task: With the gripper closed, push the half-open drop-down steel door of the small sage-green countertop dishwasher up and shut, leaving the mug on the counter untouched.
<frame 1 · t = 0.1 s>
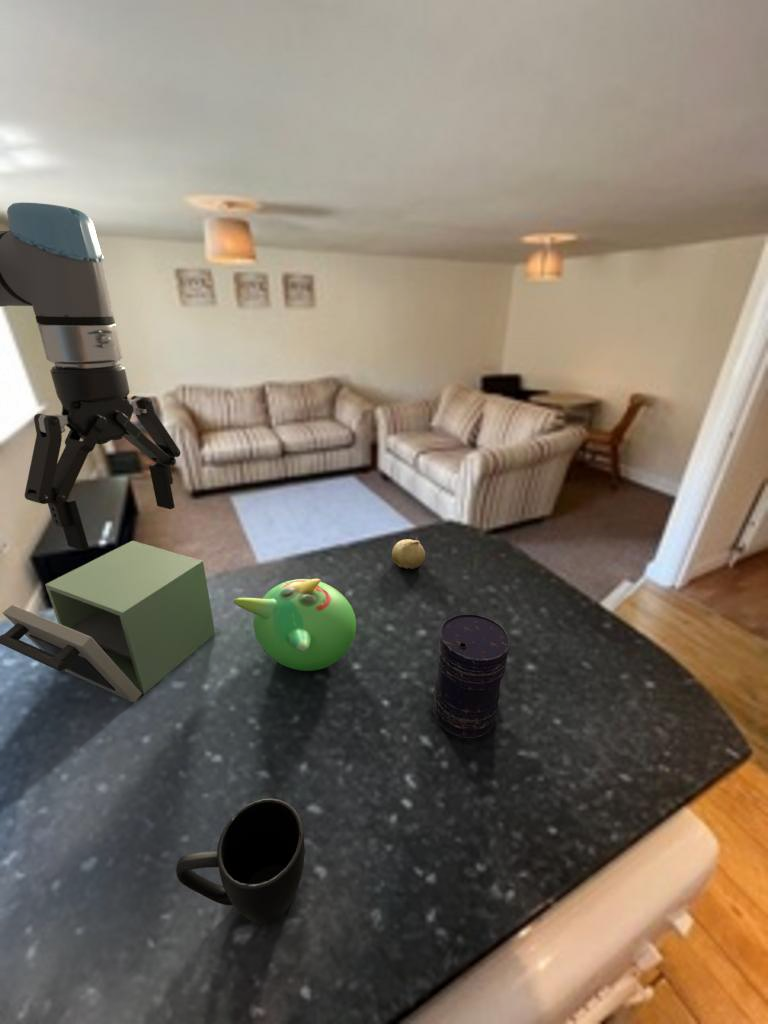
hand: (126, 525, 61), 29 cm above the worktop, tool pointing down, fingers open, 13 cm apart
toy bird: (304, 656, 80), on the worktop
mug: (250, 897, 47), on the worktop
dark oil drum: (463, 711, 70), on the worktop
onion: (407, 565, 109), on the worktop
dishwasher: (146, 647, 81), on the worktop
door: (65, 664, 67), point 7 cm above the worktop, hinge at 16.9°
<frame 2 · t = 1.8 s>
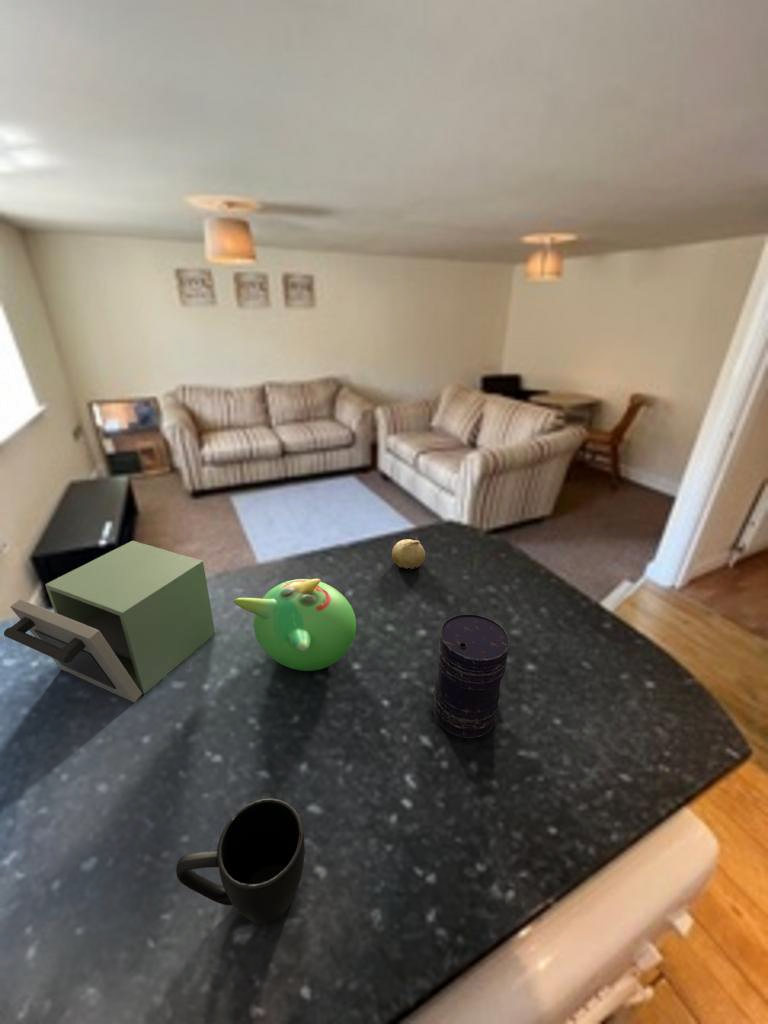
door: (68, 660, 67), point 7 cm above the worktop, hinge at 12.6°
everything else where it was.
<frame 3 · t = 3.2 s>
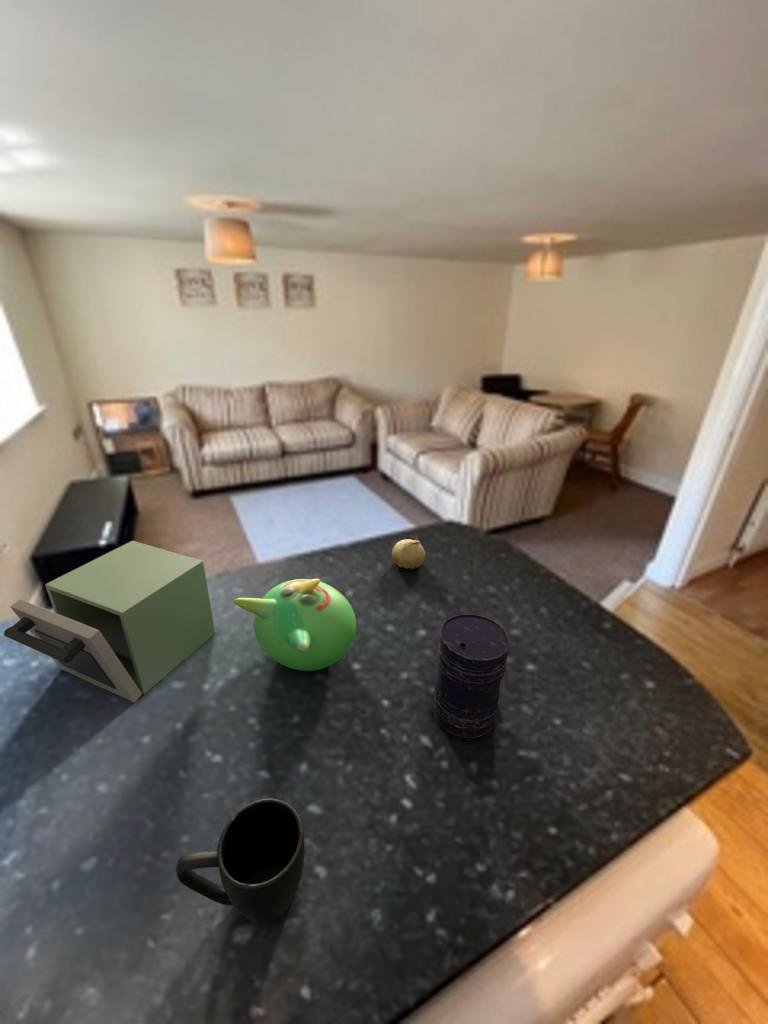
nothing on the worktop moved.
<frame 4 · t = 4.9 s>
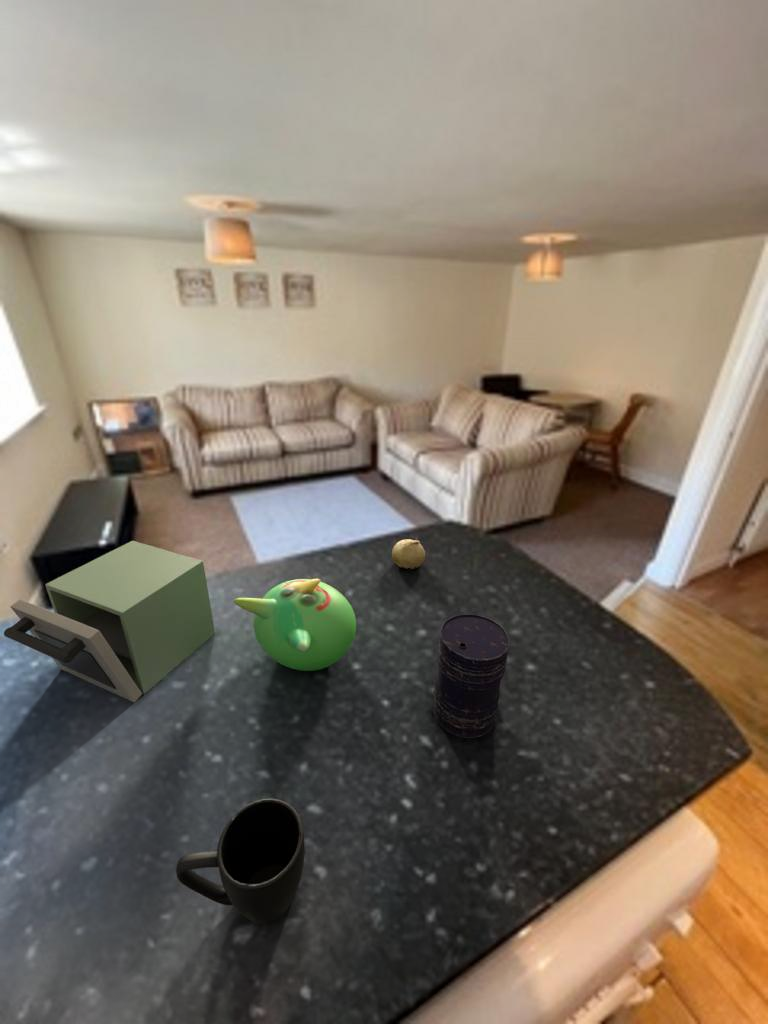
nothing on the worktop moved.
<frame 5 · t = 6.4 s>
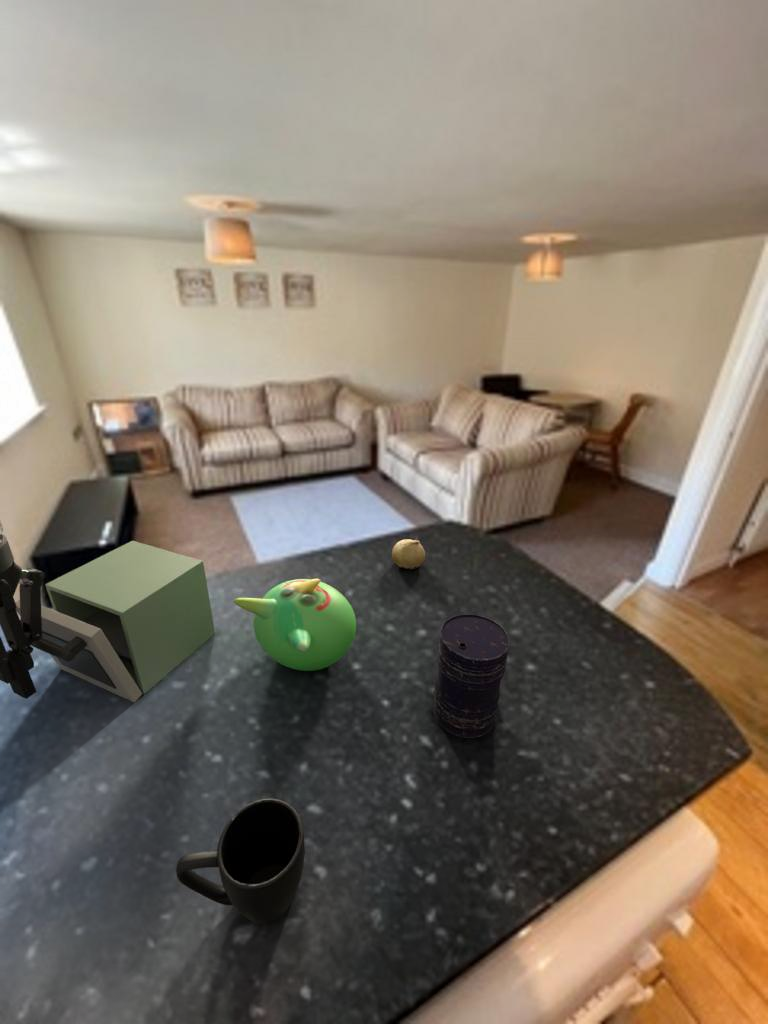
hand: (25, 692, 62), 7 cm above the worktop, tool pointing down, fingers closed
door: (69, 659, 67), point 8 cm above the worktop, hinge at 11.5°, touching gripper
everything else where it was.
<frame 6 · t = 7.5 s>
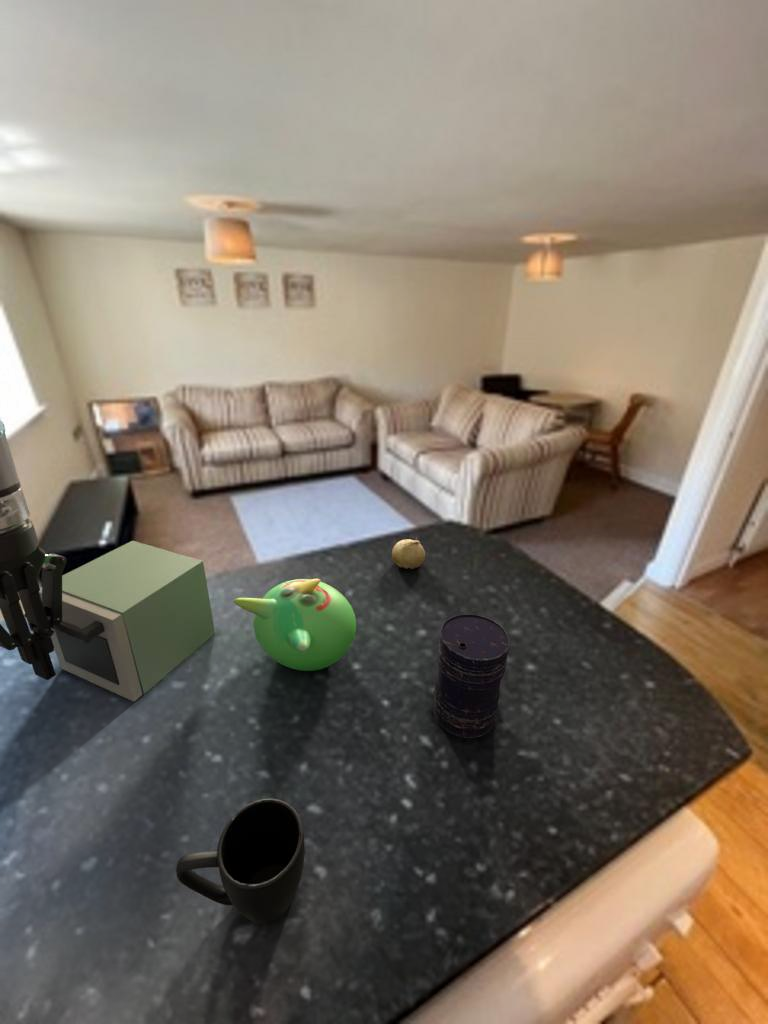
hand: (45, 674, 64), 8 cm above the worktop, tool pointing down, fingers closed
door: (79, 649, 69), point 8 cm above the worktop, hinge at -0.8°, touching gripper
everything else where it was.
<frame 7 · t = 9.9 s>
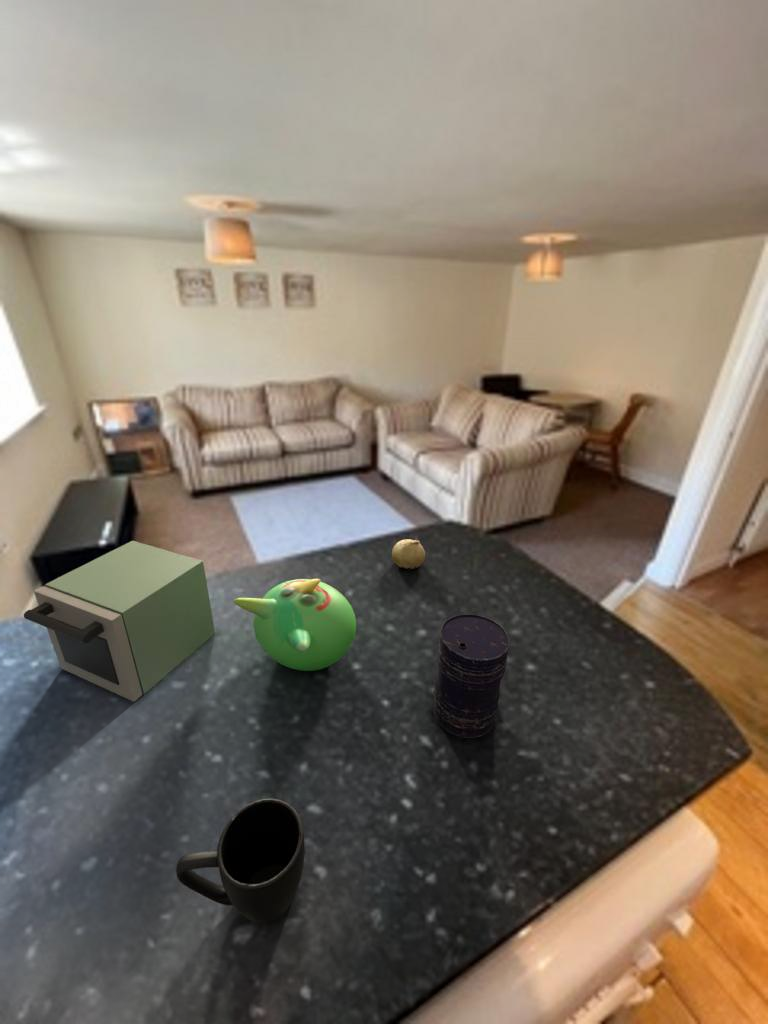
door: (78, 650, 69), point 8 cm above the worktop, hinge at -0.4°
everything else where it was.
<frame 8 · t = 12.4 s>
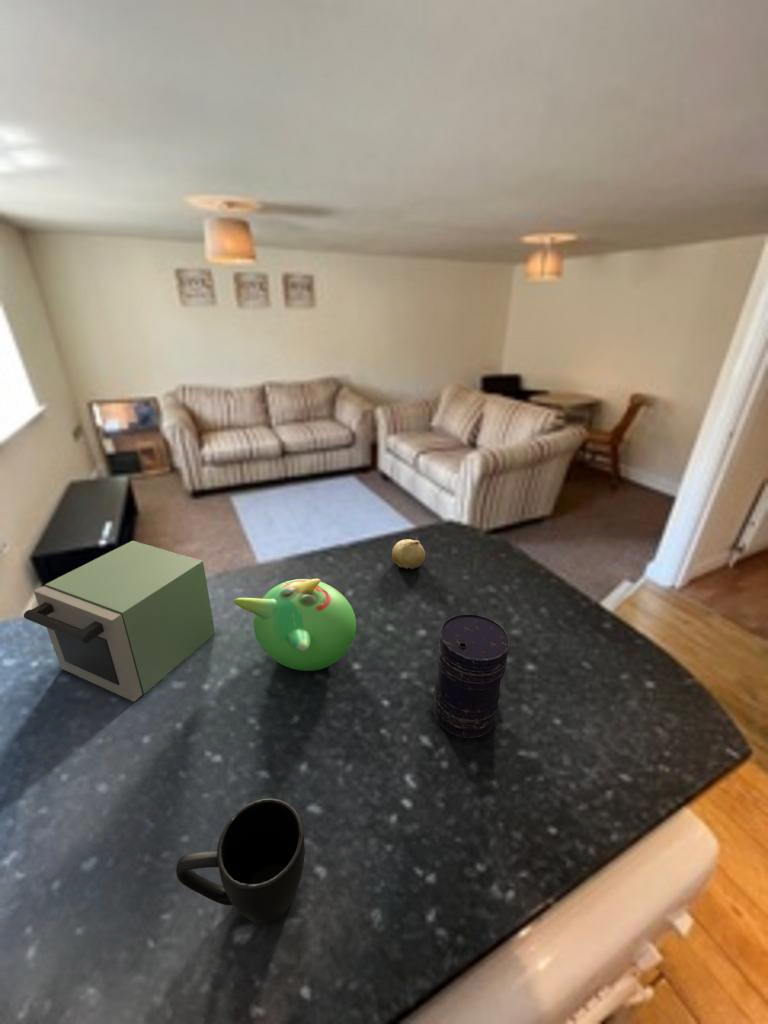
nothing on the worktop moved.
at the end: mug moved 0.2 cm from its start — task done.
